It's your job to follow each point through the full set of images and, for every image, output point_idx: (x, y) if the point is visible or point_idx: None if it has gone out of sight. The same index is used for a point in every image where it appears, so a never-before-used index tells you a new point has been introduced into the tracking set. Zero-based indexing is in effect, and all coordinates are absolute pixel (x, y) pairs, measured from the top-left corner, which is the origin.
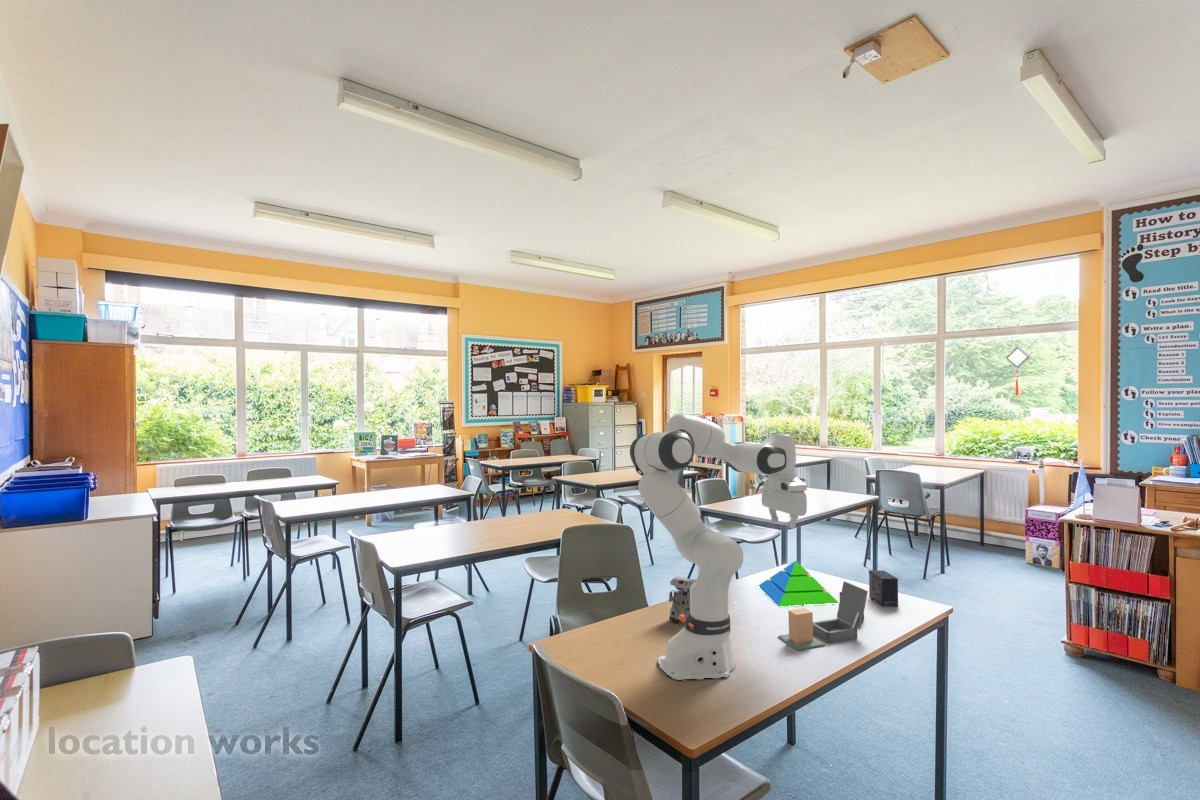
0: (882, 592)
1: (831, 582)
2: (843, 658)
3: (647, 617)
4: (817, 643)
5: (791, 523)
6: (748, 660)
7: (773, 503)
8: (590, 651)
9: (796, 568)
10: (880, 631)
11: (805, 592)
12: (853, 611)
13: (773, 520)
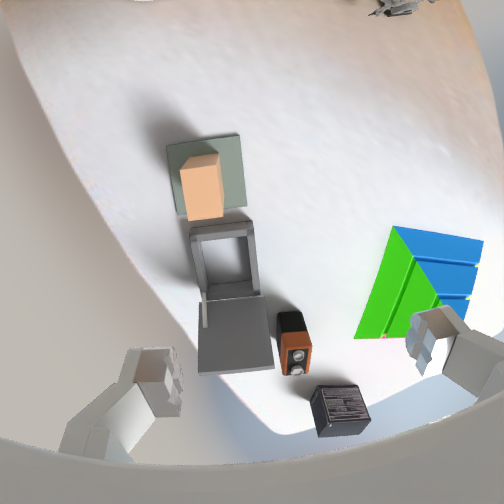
0: (322, 404)
1: None
2: (122, 218)
3: None
4: (182, 201)
5: (122, 381)
6: (146, 29)
7: (488, 477)
8: None
9: None
10: None
11: (398, 300)
12: (220, 323)
13: (425, 317)
